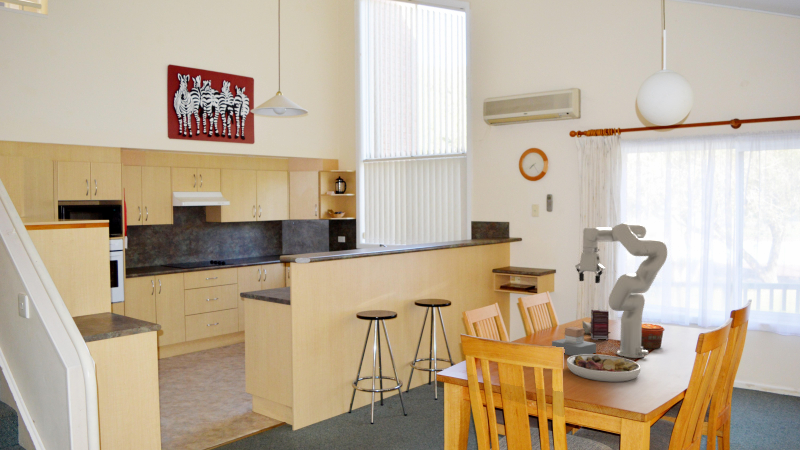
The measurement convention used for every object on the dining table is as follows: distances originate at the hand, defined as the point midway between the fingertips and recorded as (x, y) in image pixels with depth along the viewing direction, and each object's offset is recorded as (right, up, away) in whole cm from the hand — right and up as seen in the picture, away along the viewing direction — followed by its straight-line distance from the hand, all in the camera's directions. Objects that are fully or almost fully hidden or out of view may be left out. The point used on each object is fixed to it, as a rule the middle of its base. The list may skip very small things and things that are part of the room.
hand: (589, 282), depth 313 cm
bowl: (-15, -34, -63) cm, 73 cm away
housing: (-16, -28, -25) cm, 40 cm away
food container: (+28, -33, -9) cm, 44 cm away
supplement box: (+8, -33, +8) cm, 34 cm away
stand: (-16, -33, -25) cm, 44 cm away
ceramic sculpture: (+10, -32, +21) cm, 40 cm away
